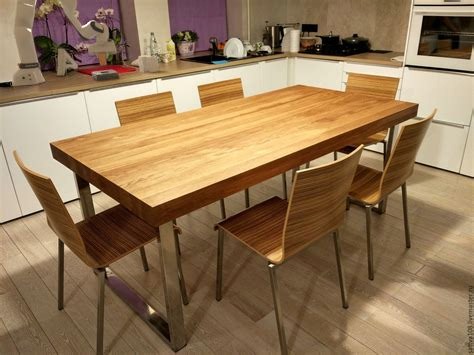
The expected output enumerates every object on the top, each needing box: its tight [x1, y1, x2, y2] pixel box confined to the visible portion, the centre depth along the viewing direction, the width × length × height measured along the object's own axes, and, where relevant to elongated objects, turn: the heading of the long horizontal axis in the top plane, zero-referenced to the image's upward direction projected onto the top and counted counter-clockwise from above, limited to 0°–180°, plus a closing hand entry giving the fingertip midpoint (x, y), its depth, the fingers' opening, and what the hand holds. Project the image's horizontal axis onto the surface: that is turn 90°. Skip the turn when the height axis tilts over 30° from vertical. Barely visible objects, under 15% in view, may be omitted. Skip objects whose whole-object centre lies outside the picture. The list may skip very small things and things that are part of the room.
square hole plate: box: [91, 69, 120, 81], centre depth 298 cm, size 16×16×4 cm
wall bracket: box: [56, 48, 79, 77], centre depth 325 cm, size 22×4×30 cm
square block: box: [98, 53, 108, 66], centre depth 293 cm, size 4×4×8 cm
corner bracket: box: [137, 54, 160, 73], centre depth 318 cm, size 11×11×12 cm
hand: (102, 58), depth 292 cm, fingers closed on square block, 4 cm apart
